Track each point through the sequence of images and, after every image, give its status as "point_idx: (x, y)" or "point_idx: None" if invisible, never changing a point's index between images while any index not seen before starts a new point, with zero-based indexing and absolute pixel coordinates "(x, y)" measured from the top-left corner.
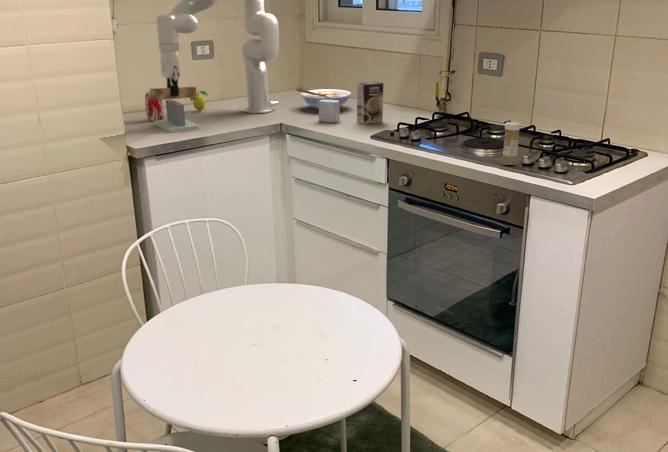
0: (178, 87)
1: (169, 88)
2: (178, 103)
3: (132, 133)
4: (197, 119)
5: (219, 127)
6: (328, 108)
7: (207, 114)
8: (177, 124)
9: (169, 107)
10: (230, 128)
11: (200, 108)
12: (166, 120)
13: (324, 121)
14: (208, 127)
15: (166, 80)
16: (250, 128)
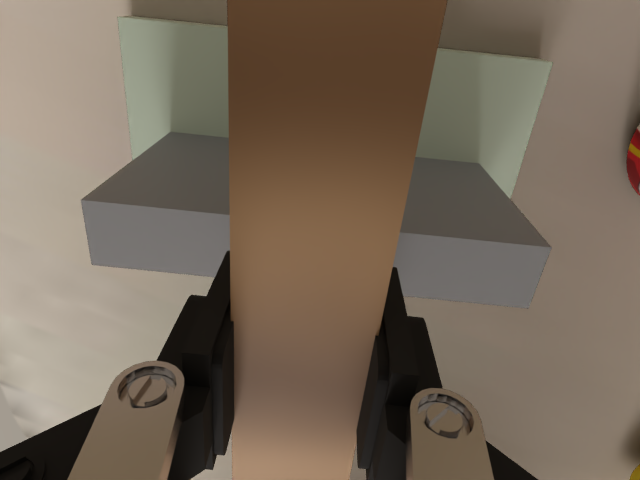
0: (326, 459)
1: (278, 324)
2: (201, 256)
3: None
4: (450, 359)
5: (140, 347)
6: None
7: (535, 449)
8: (221, 139)
9: (407, 203)
10: (83, 373)
11: (635, 472)
12: (482, 154)
13: None
14: (175, 305)
15: (478, 469)
16: (36, 432)
